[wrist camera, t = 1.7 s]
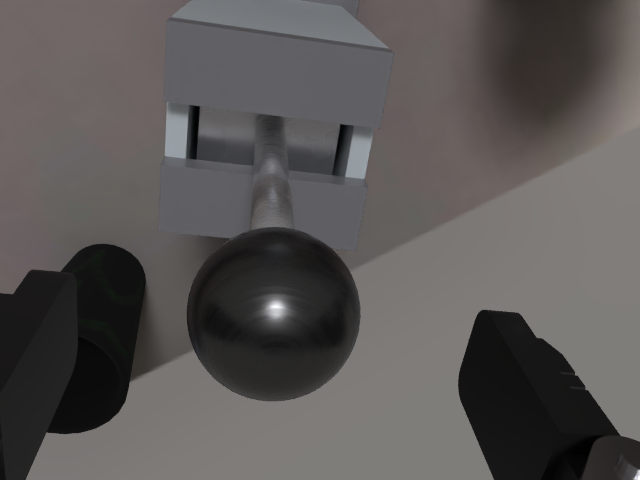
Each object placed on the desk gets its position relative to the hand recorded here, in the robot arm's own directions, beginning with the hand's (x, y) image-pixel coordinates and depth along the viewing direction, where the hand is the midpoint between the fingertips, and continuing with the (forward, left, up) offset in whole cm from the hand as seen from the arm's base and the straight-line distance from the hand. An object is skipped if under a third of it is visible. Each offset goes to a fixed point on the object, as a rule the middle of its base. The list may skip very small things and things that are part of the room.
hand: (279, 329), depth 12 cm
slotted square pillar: (0, 0, -30) cm, 30 cm away
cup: (+10, +17, -30) cm, 36 cm away
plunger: (0, 0, -16) cm, 16 cm away
